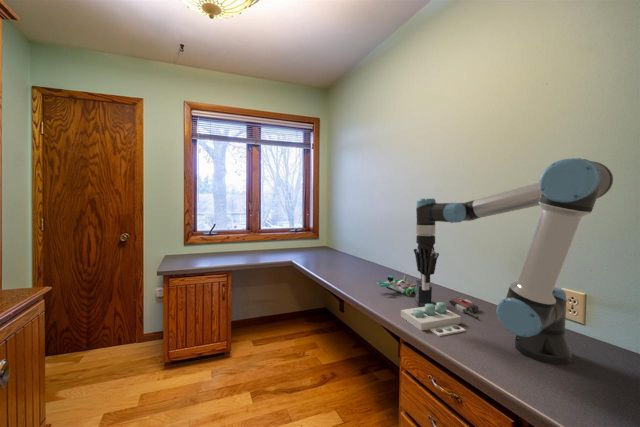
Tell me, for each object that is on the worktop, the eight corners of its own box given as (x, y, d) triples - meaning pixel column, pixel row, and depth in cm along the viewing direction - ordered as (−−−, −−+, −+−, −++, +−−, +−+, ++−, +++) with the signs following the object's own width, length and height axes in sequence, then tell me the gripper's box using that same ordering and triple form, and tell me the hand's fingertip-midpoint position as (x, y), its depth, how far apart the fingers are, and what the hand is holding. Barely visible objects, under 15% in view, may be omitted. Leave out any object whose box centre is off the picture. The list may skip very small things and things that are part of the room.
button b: (437, 315, 119) (437, 306, 119) (429, 316, 118) (429, 307, 118) (430, 311, 123) (430, 303, 123) (422, 313, 122) (422, 304, 122)
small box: (432, 308, 134) (432, 286, 133) (418, 307, 135) (418, 286, 135) (428, 300, 144) (428, 280, 144) (415, 299, 146) (415, 279, 145)
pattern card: (465, 331, 110) (465, 329, 110) (439, 336, 106) (439, 333, 106) (456, 325, 115) (456, 323, 115) (430, 330, 111) (430, 328, 111)
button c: (425, 322, 117) (425, 312, 117) (417, 323, 116) (417, 314, 116) (419, 318, 121) (419, 309, 121) (411, 319, 120) (411, 310, 120)
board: (460, 323, 117) (461, 316, 117) (421, 330, 111) (421, 323, 111) (437, 311, 130) (437, 304, 130) (400, 316, 124) (400, 310, 124)
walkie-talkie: (445, 304, 140) (475, 320, 120) (445, 295, 140) (476, 311, 120) (460, 302, 142) (492, 318, 122) (460, 294, 142) (492, 308, 122)
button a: (448, 313, 121) (448, 304, 121) (440, 315, 120) (440, 306, 119) (441, 310, 125) (441, 301, 125) (434, 311, 124) (434, 302, 123)
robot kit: (368, 290, 161) (368, 274, 160) (400, 284, 172) (401, 269, 172) (390, 301, 144) (391, 283, 144) (424, 293, 156) (425, 277, 156)
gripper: (444, 235, 113) (444, 293, 114) (422, 232, 125) (422, 284, 126) (429, 236, 110) (429, 295, 111) (408, 233, 123) (408, 286, 123)
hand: (425, 289), depth 119 cm, fingers closed
